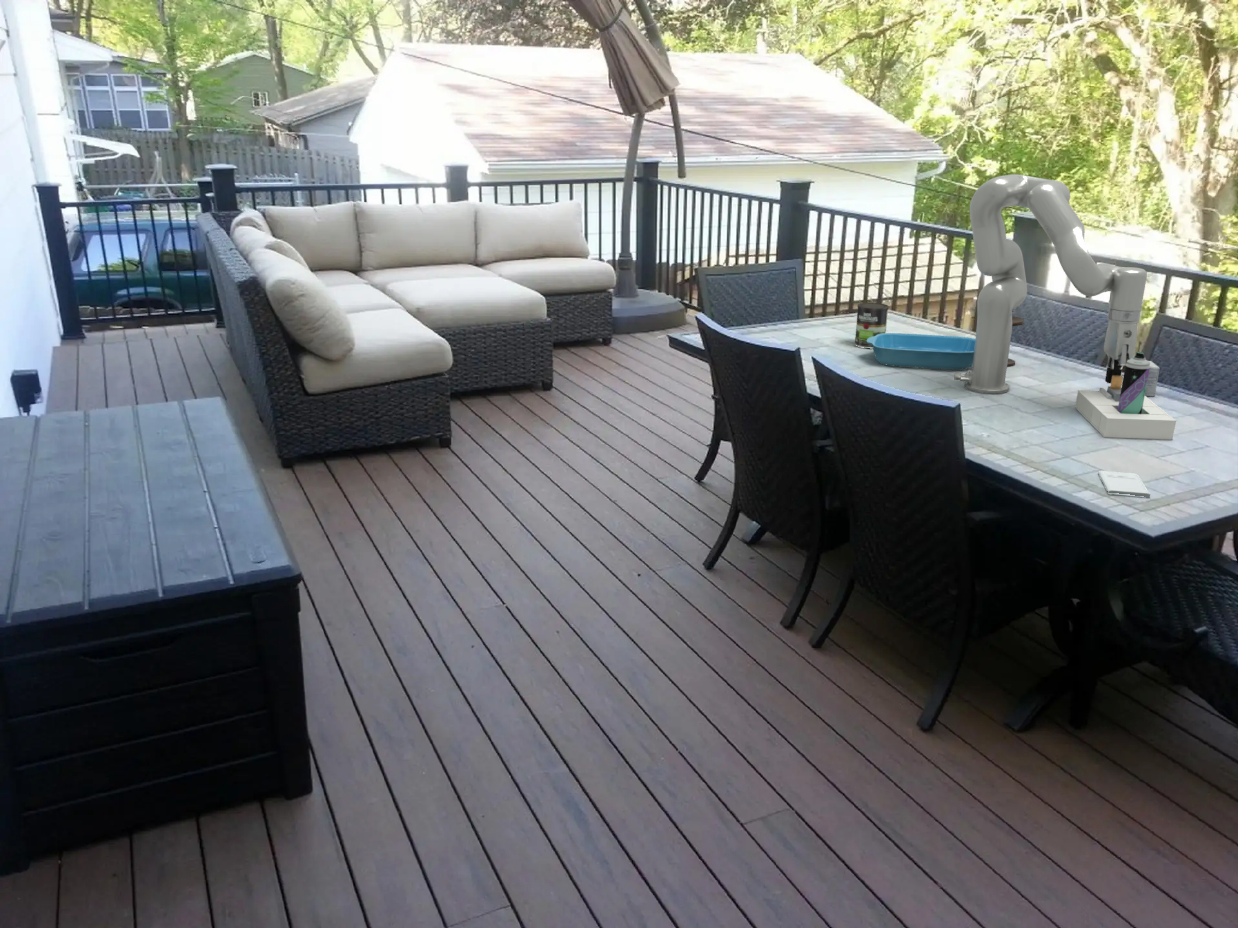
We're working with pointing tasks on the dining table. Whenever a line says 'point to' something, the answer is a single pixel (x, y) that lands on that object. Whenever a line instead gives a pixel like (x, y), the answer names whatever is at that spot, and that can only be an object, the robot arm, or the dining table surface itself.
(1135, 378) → the spray can
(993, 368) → the robot arm
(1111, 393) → the bar
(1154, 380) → the medicine box
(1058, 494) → the dining table surface
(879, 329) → the coffee can
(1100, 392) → the block
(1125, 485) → the external hard drive
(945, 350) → the casserole dish
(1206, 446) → the dining table surface
